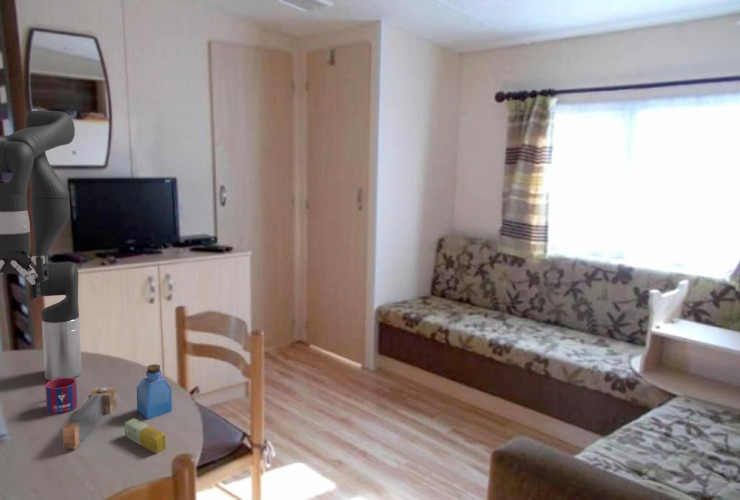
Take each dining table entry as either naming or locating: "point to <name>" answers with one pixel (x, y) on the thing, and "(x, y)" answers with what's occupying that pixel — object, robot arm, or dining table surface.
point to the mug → (61, 395)
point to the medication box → (145, 435)
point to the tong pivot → (106, 398)
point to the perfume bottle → (154, 394)
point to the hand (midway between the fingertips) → (14, 298)
